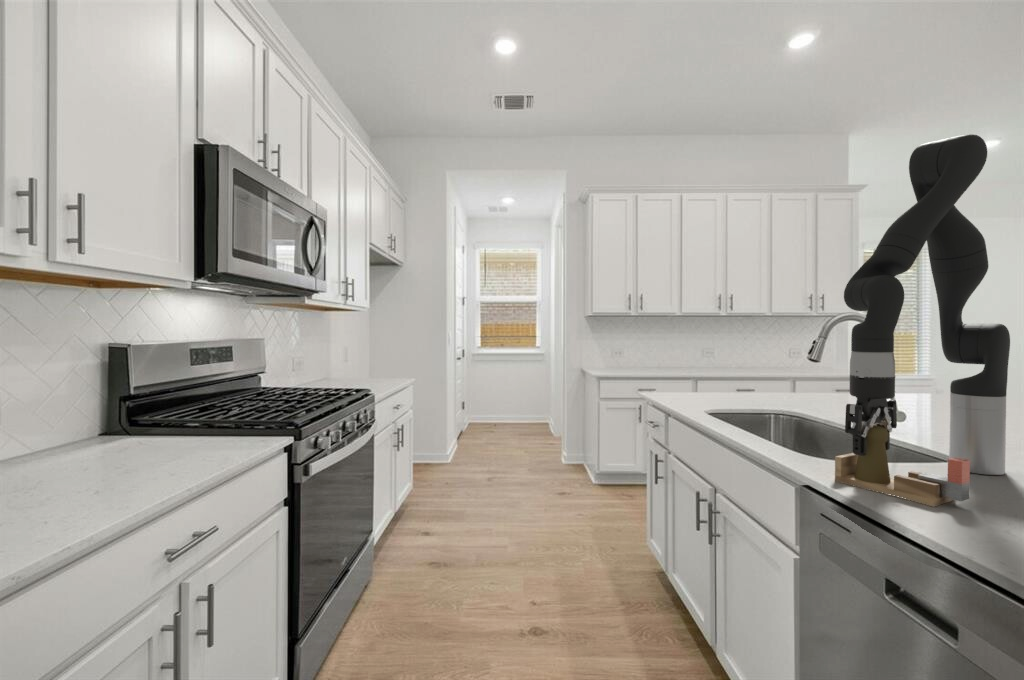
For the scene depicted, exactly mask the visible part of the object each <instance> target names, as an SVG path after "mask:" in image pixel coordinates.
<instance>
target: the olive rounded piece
mask: <svg viewBox="0 0 1024 680" xmlns="http://www.w3.org/2000/svg"><path fill="white" fill-rule="evenodd" d="M862 429H863V427H862ZM862 429H861V431H862ZM888 437H889V434H888V431H887V430H886V429H885V428H883V427H880V426H875V425H873V427H872V428H871V429H869V430H868V433H867V435H866V438H867V442H866V455H864V456H860V455H858V459H857V465H856V470H855V476H854V477H855V478H856V479H858V480H862V481H865V482H870V483H879V484H887V483H890V482H891V481H890V478H891V476H890V475H891V474H890V468H889V461H888V455H887V450H886V447H885V443H886V442H887V441H888Z"/></svg>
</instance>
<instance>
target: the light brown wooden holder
mask: <svg viewBox="0 0 1024 680" xmlns="http://www.w3.org/2000/svg"><path fill="white" fill-rule="evenodd" d="M834 458H835V460H834V481H835V482H837V483H841V484H845V485H849V486H852V485H854V487H856V486H858V487H857V488H860V487H861V489H864V488H866V489H865V490H868V489H870V490H869V491H871V490H874V491H873V492H875V491H878V492H877V493H879V492H883V493H887V494H891V495H895V496H899V497H903V498H906V499H909V500H908V501H910V500H912V501H911V502H913V501H916V502H915V503H917V502H919V503H918V504H921V503H922V505H925V504H926V506H929V507H937V506H940V505H943V504H945V503H949V502H952V501H954V500H953V499H949V498H945V497H941V496H939V493H940V484H937V483H932V482H928V481H924V480H919V479H918V475H919V474H923V473H922V472H919V471H915V470H914V471H913V470H911V471H908V474H907V476H905V475H901V474H896V475H893V478H891V477H890V481H891V482H890V483H887V484H879V483H870V482H865V481H862V480H858V479H856V478H855V477H854V476H855V470H856V465H857V459H858V455H856V454H854V453H853V452H851V453H850V452H849V453H847V454H846V453H845V454H841V455H835V456H834ZM883 493H882V494H883ZM887 494H886V495H887ZM891 495H890V496H891ZM906 499H905V500H906Z"/></svg>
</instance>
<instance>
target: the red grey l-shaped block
mask: <svg viewBox="0 0 1024 680" xmlns="http://www.w3.org/2000/svg"><path fill="white" fill-rule="evenodd" d="M970 476H971V472H970V460H967V459H962V458H952V459H949V458H948V459H947V476H943V475H937V474H934V473H933V474H932V473H928V472H924V473H923V474H919V475H918V479H919V480H924V481H928V482H932V483H937V484H940V493H939V496H941V497H945V498H949V499H953V500H952V501H954V500H955V501H959V502H964V501H967V500H970V487H971V486H970V484H971V483H970V481H971V479H970Z"/></svg>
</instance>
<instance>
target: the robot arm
mask: <svg viewBox="0 0 1024 680" xmlns="http://www.w3.org/2000/svg"><path fill="white" fill-rule="evenodd" d="M987 158H988V147H987V144H986V142H985V140H984V138H983V137H981V136H979V135H977V134H972V133H971V134H963V135H957V136H956V135H955V136H952V137H948V138H944V139H943V138H942V139H940V140H939V139H937V140H934V141H930V142H926V143H922V144H919V145H918V146H917V147H915V148H914V150H913V151H912V152H911V155H910V157H909V162H908V173H909V178H910V182H911V186H912V187H911V188H912V189H913V192H914V195H915V199H916V203H914V204H913V205H912V206H911V207H910V208H909V209H907V210H906V211H905V212H904V213H902V214H901V215H899V217H897V219H896V220H894V221H893V223H891V224H890V226H889V227H888V228H887V229H886V231H885V232H884V234H883V236H882V238H881V239H880V241H879V243H878V244H877V246H876V248H875V249H874V251H873V254H872V255H871V256H870V257H869V258H868V259H867V260H866V261H865V262H864V263H863V264H862V265H861V266H860V267H859V268H858V269H857V271H856V272H854V274H853V276H852V277H851V278H850V279H849V280H848V282H847V283H846V284H845V288H844V291H843V300H844V303H845V305H846V306H847V307H848V308H850V309H851V310H854V311H856V312H866V314H865V318H864V320H863V322H859V323H857V324H855V325H854V326H853V327H852V329H851V337H850V339H851V340H850V341H851V347H850V349H851V350H850V351H851V353H850V359H849V395H850V396H852V397H855V398H856V402H855V403H847V404H846V406H845V419H844V420H845V422H844V423H845V424H844V432H845V434H848V435H850V436H852V453H854V454H856V455H860V456H864V455H866V442H867V438H866V435H867V433H868V430H869V429H871V428H872V427H873V425H875V426H880V427H883V428H885V429H886V430H887V431H888V434H889V437H888V441H887V442H886V443H885V447H886V451H889V450H890V448H891V447H890V445H891V443H890V442H891V440H890V439H891V437H890V436H891V433H892V432H893V429H897V423H898V422H897V421H898V420H897V419H898V418H897V417H898V416H897V401H896V400H895V399H893V398H895V397H896V360H895V349H894V348H895V338H894V337H895V336H894V334H895V333H894V332H895V329H896V327H897V324H898V321H899V318H900V315H901V311H902V309H903V306H904V305H903V304H904V301H905V289H904V287H903V284H902V283H901V281H900V279H898V278H897V276H900V275H901V274H903V273H906V272H908V271H909V270H910V269H911V267H912V266H913V265H914V263H915V261H916V260H917V258H918V256H919V254H920V252H921V251H922V249H923V247H924V246H925V244H926V243H927V253H928V259H929V264H930V271H931V273H932V278H933V282H934V287H935V293H936V298H937V305H938V313H939V315H938V316H939V329H940V342H941V347H942V348H941V349H942V352H943V355H944V358H945V359H946V360H947V361H949V362H950V363H954V364H966V365H984V366H983V369H982V371H980V372H979V373H977V374H974V375H972V376H968V377H963V378H962V377H961V378H958V379H953V380H952V381H951V382H950V386H949V387H950V388H949V389H950V395H949V396H950V397H949V399H950V401H949V451H948V456H949V458H948V459H952V458H962V459H967V460H970V474H971V473H972V474H978V475H979V474H980V475H988V476H990V475H991V476H1001V475H1005V474H1006V450H1007V449H1006V445H1007V442H1006V441H1007V439H1006V437H1007V389H1008V388H1007V387H1008V372H1009V359H1010V351H1011V350H1010V349H1011V335H1010V331H1009V328H1008V327H1007V326H1006V325H1005V324H1002V323H964V322H963V320H962V319H963V318H962V316H963V315H962V313H963V310H964V307H965V306H966V304H967V302H968V300H969V299H970V297H971V296H972V294H973V293H974V292H975V290H976V289H977V288H978V287H979V285H980V284H981V283H982V281H983V280H984V278H985V276H986V275H987V273H988V270H989V259H988V258H989V257H988V251H987V243H986V240H985V237H984V236H983V234H982V233H981V232H980V230H979V228H977V227H976V225H975V224H973V223H972V222H971V221H970V220H969V219H968V218H967V217H966V216H965V215H963V213H962V212H961V211H960V210H959V209H958V208H957V207H956V205H955V204H956V203H957V202H958V201H959V200H960V198H961V197H962V196H963V194H965V192H966V191H967V190H968V189H969V188H970V186H971V185H972V183H974V182H975V180H976V179H977V178H978V176H979V175H980V174H981V172H982V170H983V168H984V167H985V164H986V162H987V160H988V159H987ZM862 427H863V429H862ZM861 429H862V431H861Z"/></svg>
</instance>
